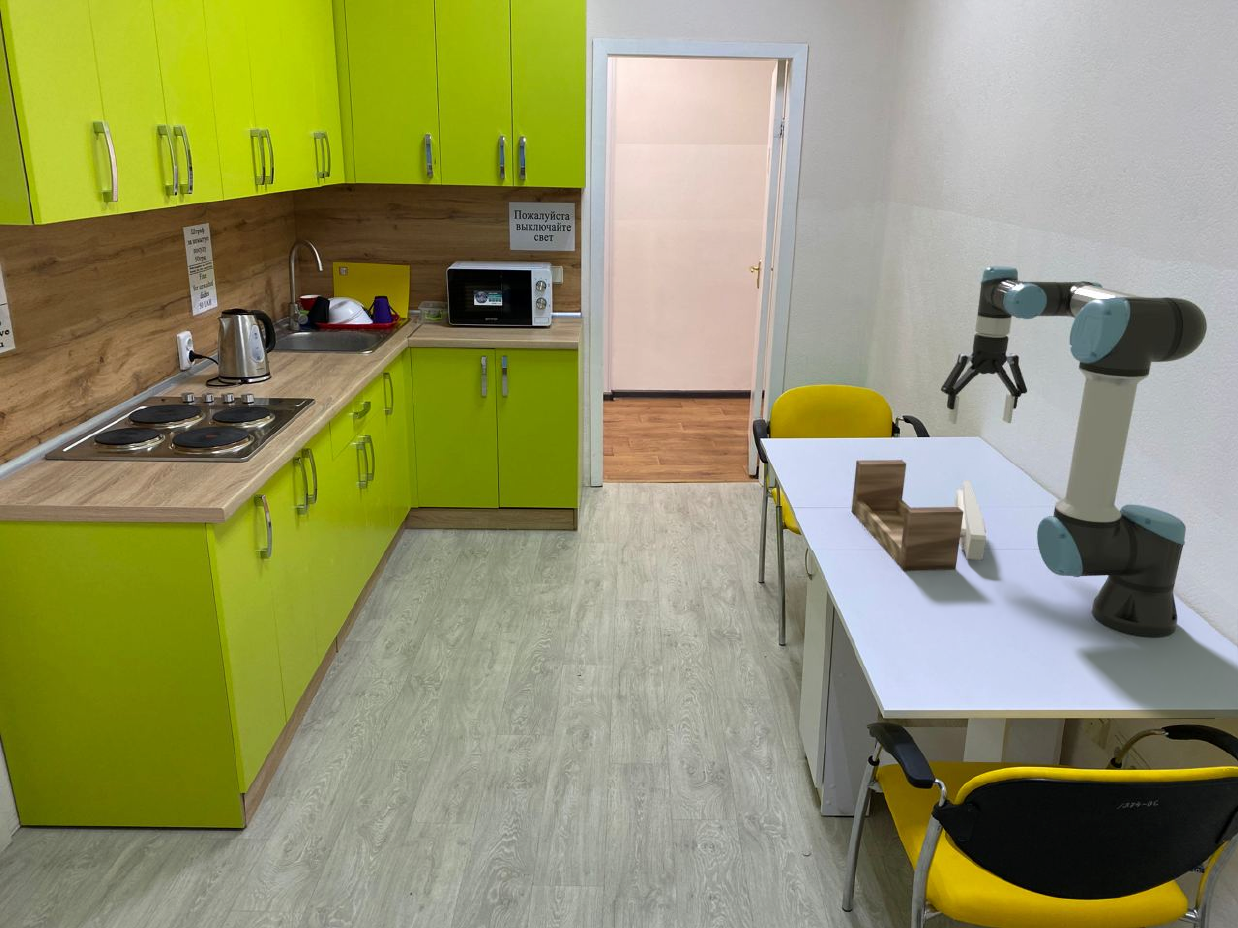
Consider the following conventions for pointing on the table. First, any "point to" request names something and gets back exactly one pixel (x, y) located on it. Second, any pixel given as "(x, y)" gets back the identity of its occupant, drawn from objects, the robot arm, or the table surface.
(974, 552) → the shelf bracket
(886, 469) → the cradle
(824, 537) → the table surface
